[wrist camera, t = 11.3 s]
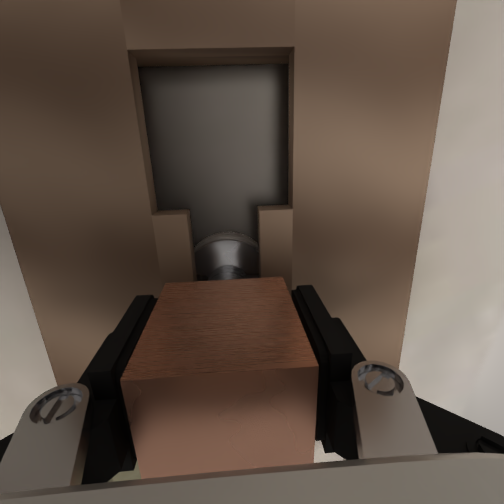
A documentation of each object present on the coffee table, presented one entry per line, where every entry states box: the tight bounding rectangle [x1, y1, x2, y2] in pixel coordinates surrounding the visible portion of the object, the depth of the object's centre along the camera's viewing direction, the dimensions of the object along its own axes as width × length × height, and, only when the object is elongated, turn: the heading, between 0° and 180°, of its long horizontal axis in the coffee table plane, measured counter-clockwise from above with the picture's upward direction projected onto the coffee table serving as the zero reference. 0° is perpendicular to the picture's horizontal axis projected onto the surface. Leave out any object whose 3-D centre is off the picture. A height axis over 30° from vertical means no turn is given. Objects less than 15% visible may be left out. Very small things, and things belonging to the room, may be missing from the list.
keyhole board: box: [0, 0, 457, 386], centre depth 13 cm, size 18×16×4 cm
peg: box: [120, 232, 319, 479], centre depth 11 cm, size 4×4×10 cm
